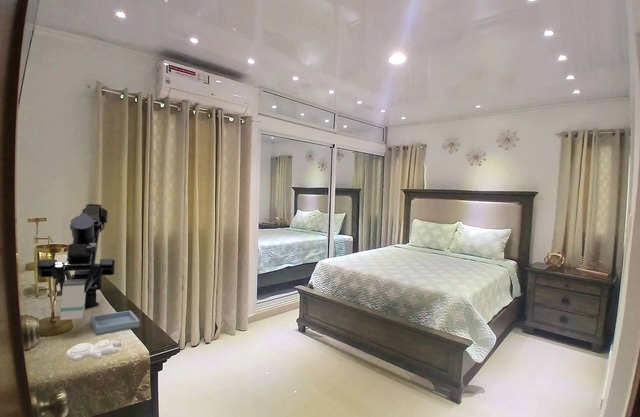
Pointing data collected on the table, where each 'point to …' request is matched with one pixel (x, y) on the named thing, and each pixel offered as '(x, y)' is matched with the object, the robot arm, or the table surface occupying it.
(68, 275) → the phone stand
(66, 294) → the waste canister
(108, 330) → the drip tray
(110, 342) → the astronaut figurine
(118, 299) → the table surface
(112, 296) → the table surface
